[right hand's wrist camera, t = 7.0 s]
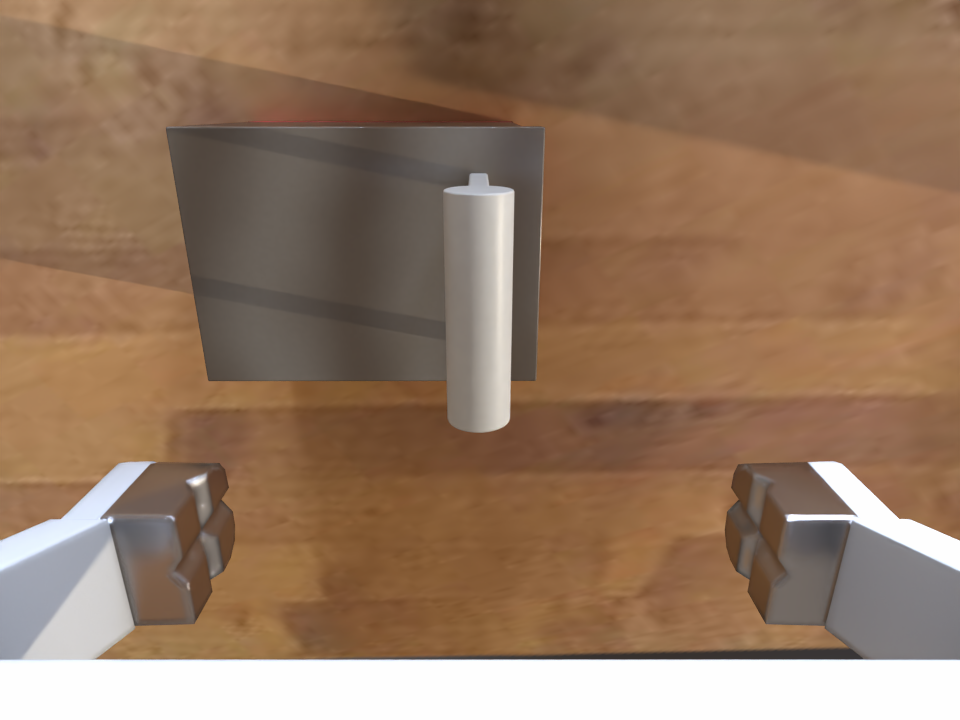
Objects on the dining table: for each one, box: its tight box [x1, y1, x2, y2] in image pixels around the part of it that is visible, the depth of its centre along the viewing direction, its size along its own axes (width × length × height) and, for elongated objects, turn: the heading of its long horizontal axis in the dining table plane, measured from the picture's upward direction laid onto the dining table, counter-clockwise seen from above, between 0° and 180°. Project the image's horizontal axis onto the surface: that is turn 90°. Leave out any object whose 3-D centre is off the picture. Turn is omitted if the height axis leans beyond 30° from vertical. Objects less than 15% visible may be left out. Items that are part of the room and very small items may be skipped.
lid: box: [166, 126, 545, 433], centre depth 23 cm, size 14×10×9 cm
